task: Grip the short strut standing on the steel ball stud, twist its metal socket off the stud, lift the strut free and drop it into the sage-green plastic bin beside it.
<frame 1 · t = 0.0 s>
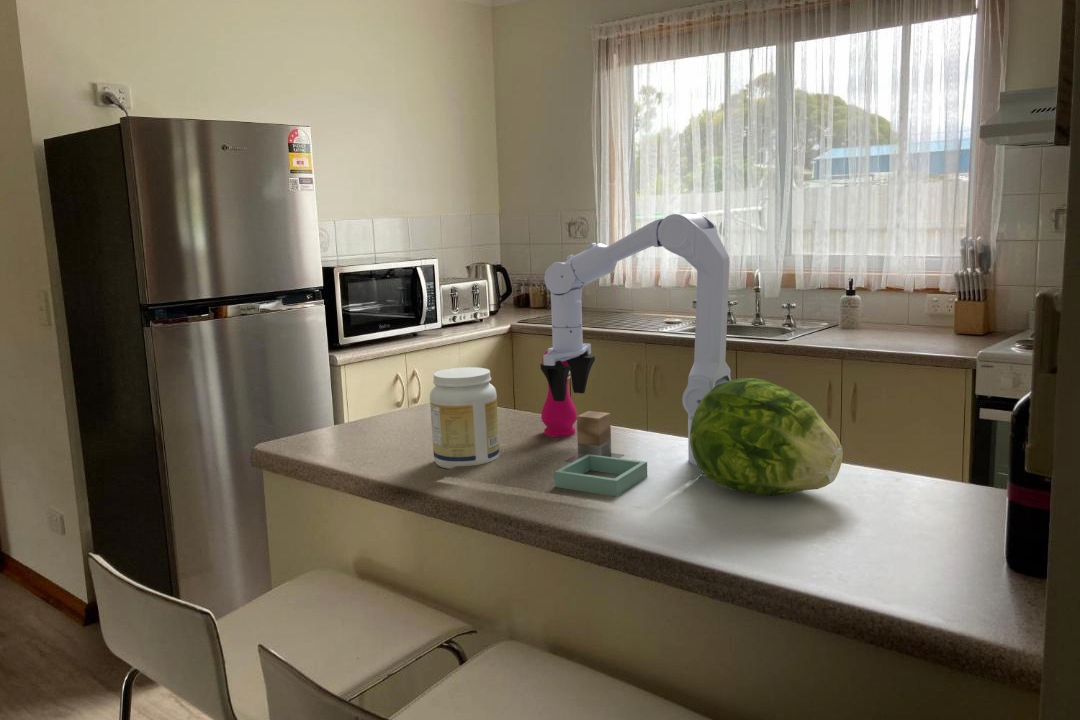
hand: (569, 396, 163), 10 cm above the counter, tool pointing down, fingers open, 7 cm apart
lettuce: (764, 494, 135), on the counter
strut: (594, 457, 154), point 1 cm above the counter, touching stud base
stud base: (594, 463, 155), on the counter
pepper mill: (560, 438, 173), on the counter
bin: (601, 487, 141), on the counter
supplement tub: (467, 462, 159), on the counter
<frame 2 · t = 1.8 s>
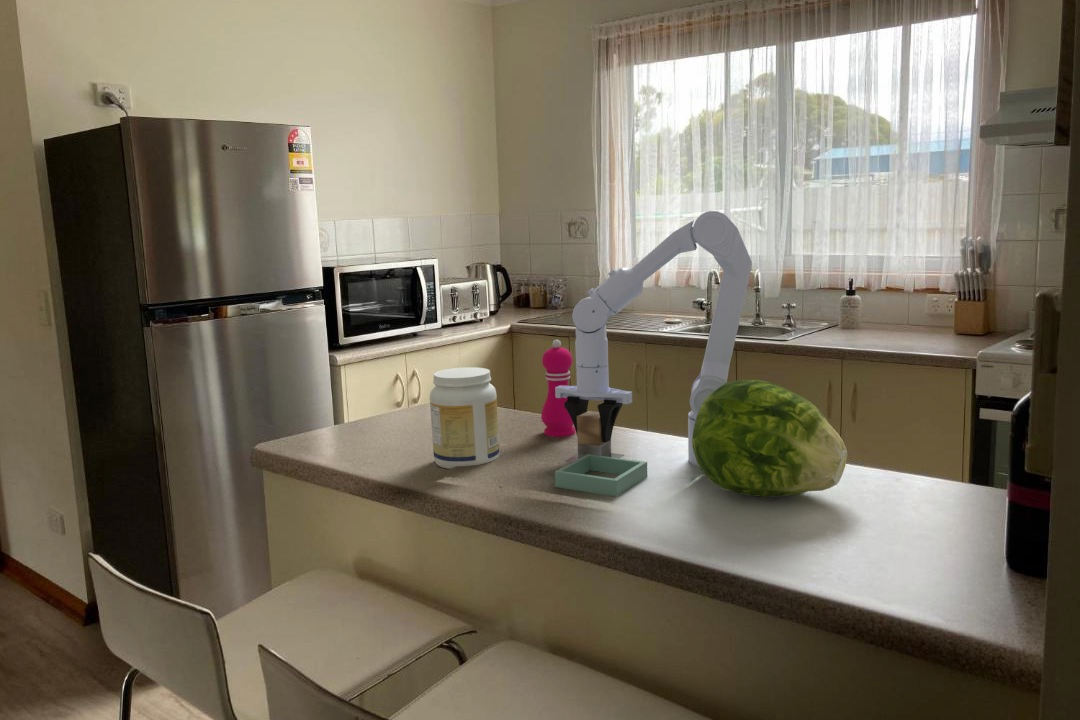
hand: (594, 439, 154), 4 cm above the counter, tool pointing down, fingers closed on strut, 4 cm apart
strut: (594, 457, 154), point 1 cm above the counter, touching gripper, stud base
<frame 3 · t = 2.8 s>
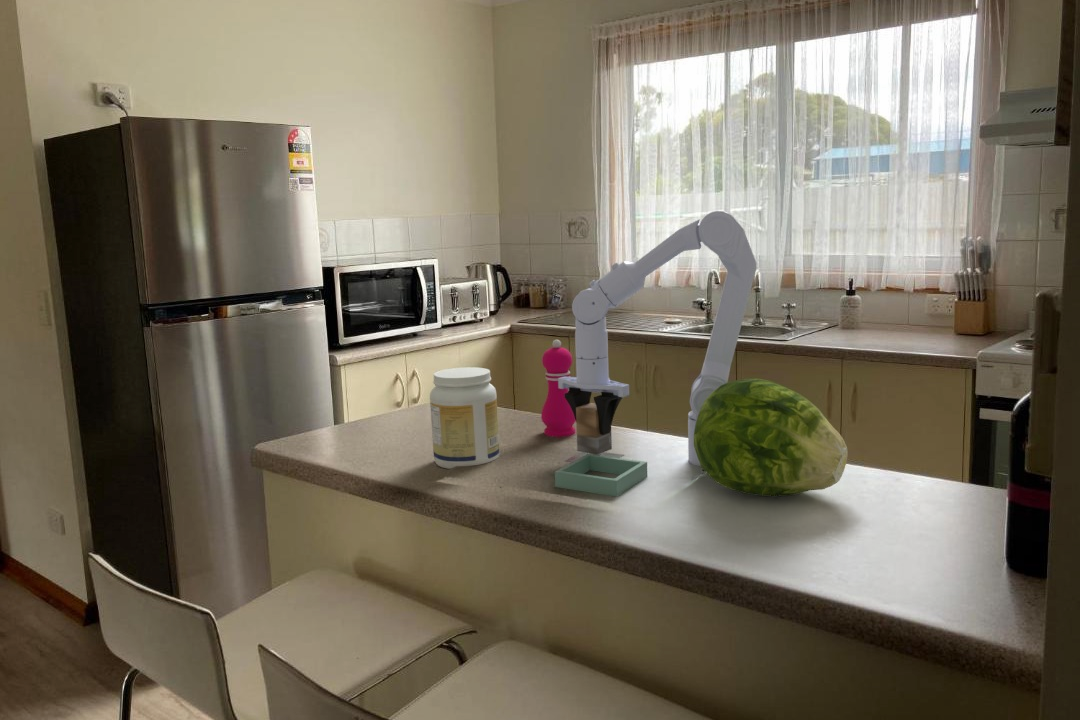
hand: (594, 431, 154), 6 cm above the counter, tool pointing down, fingers closed on strut, 4 cm apart
strut: (594, 450, 154), point 2 cm above the counter, touching gripper
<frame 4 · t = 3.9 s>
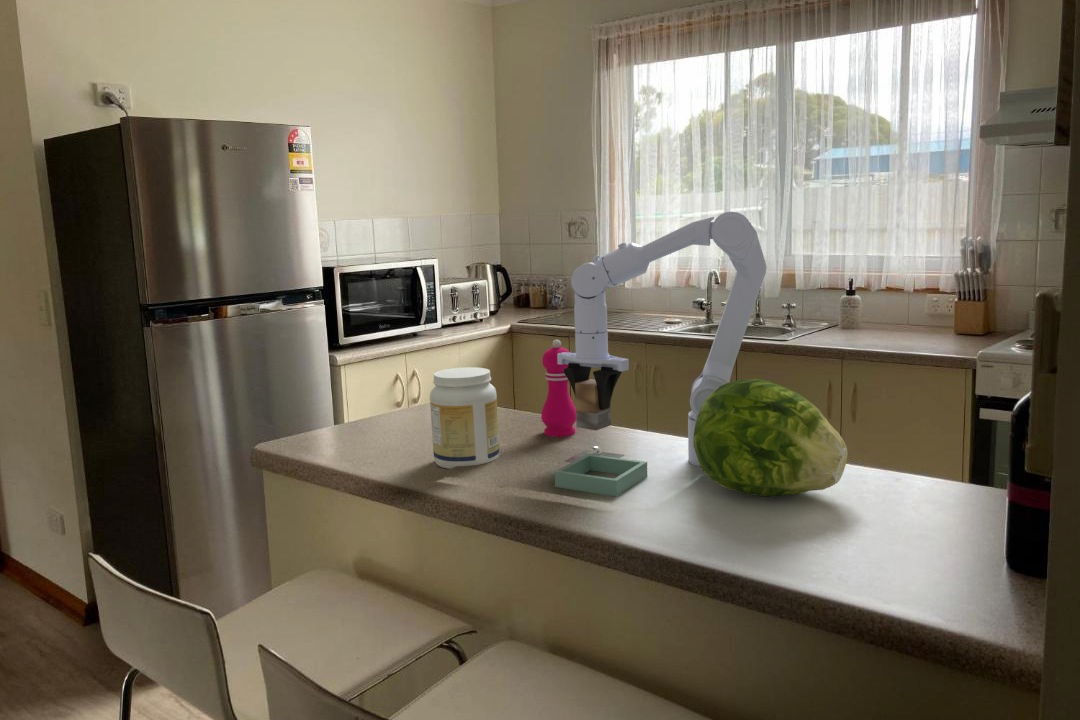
hand: (593, 407, 153), 10 cm above the counter, tool pointing down, fingers closed on strut, 4 cm apart
strut: (593, 426, 153), point 7 cm above the counter, touching gripper
everything else where it was.
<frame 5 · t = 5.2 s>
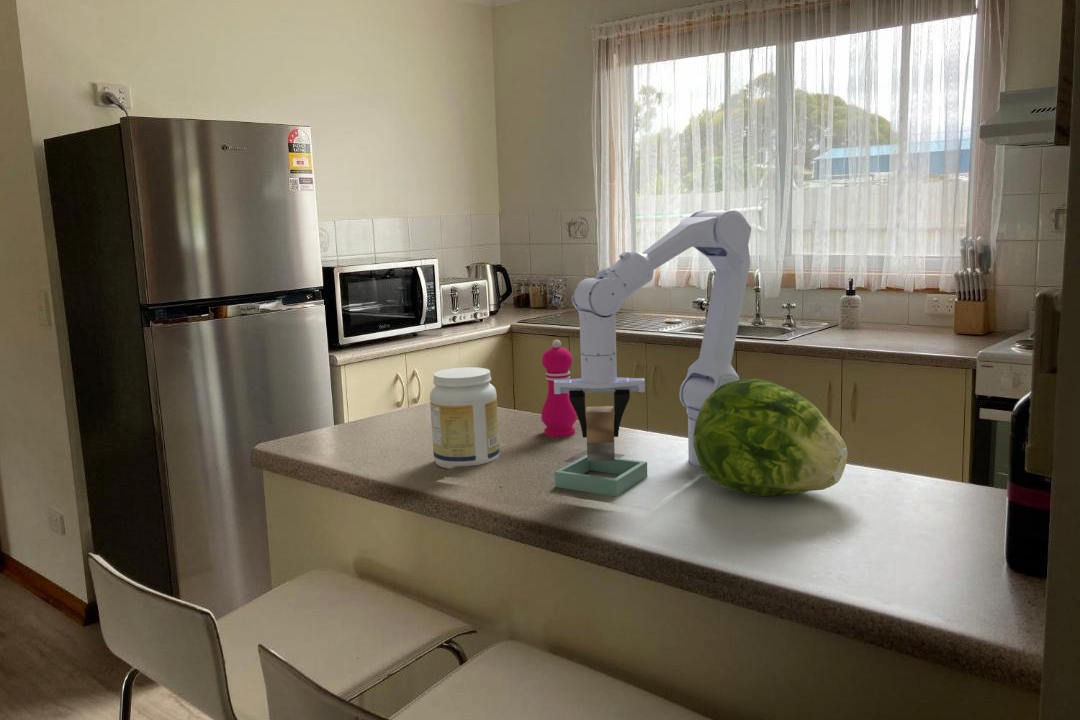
hand: (600, 435, 140), 9 cm above the counter, tool pointing down, fingers closed on strut, 4 cm apart
strut: (600, 457, 140), point 5 cm above the counter, touching gripper
everything else where it was.
when the fingers open (5 cm above the counter, at t = 6.2 s): strut drops 1 cm, resting on bin.
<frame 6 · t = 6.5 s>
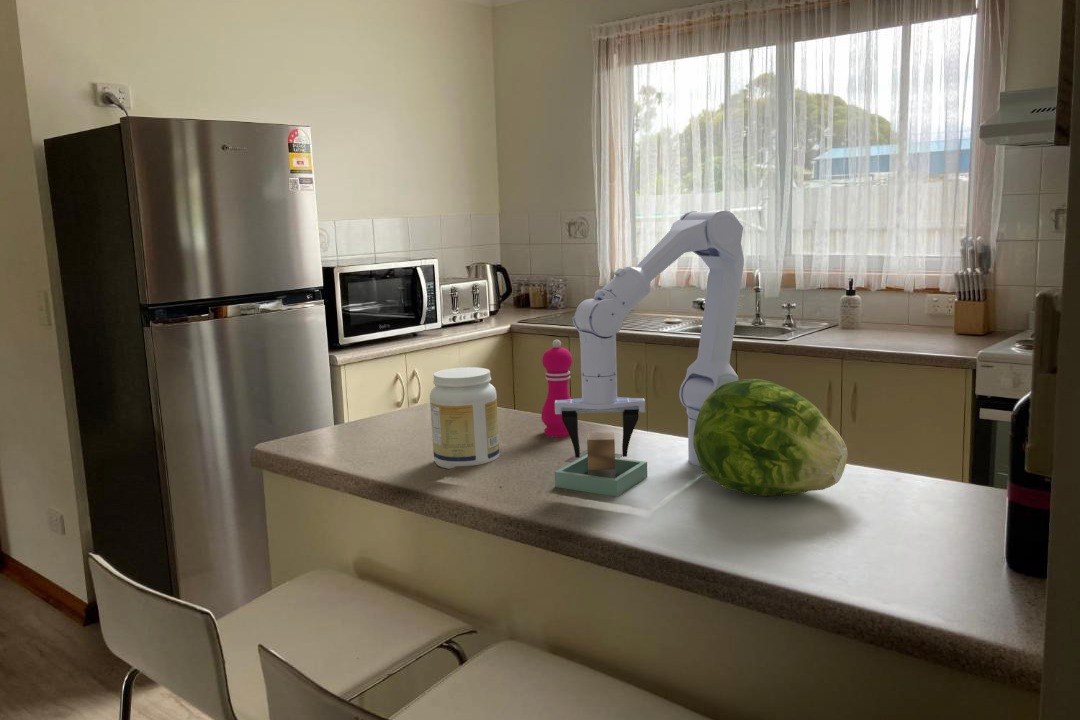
hand: (601, 455, 140), 5 cm above the counter, tool pointing down, fingers open, 7 cm apart
strut: (601, 483, 141), point 1 cm above the counter, touching bin
everything else where it was.
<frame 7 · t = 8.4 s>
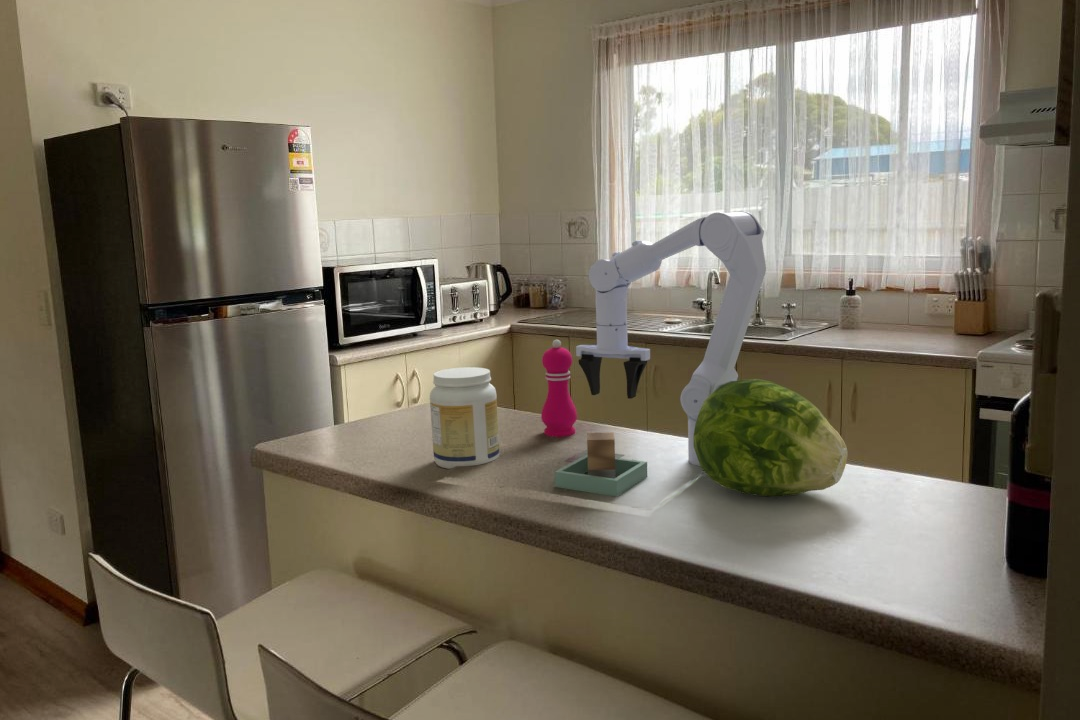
hand: (613, 395, 161), 10 cm above the counter, tool pointing down, fingers open, 7 cm apart
nothing on the counter moved.
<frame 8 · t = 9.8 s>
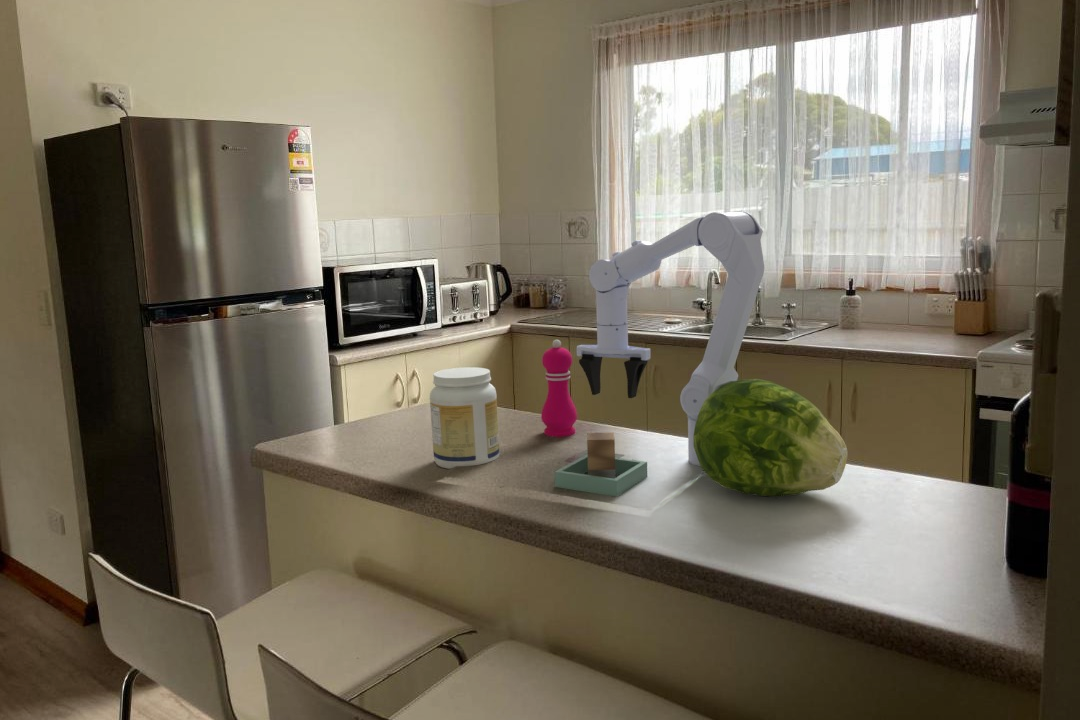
hand: (613, 395, 162), 10 cm above the counter, tool pointing down, fingers open, 7 cm apart
nothing on the counter moved.
at the end: strut inside the target area on the bin (0.2 cm from its centre), point 0.6 cm above the bin's base; the gripper is holding nothing; strut moved 13.5 cm from its start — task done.
